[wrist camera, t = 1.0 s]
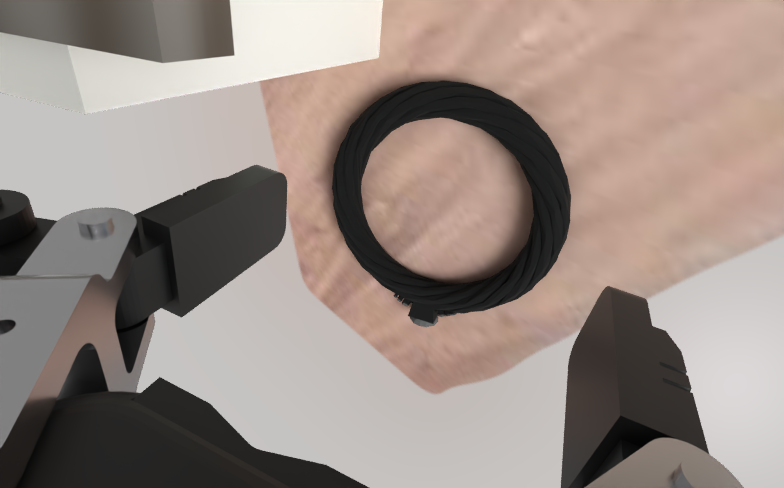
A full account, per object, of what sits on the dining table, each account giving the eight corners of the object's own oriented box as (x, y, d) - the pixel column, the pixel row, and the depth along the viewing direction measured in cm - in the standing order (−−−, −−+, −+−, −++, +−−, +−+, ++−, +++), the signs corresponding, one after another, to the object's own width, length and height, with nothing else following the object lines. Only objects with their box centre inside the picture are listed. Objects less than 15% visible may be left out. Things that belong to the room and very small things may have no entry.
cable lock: (611, 107, 36) (527, 363, 51) (609, 100, 39) (530, 343, 54) (325, 65, 44) (325, 297, 59) (343, 62, 47) (338, 283, 62)
